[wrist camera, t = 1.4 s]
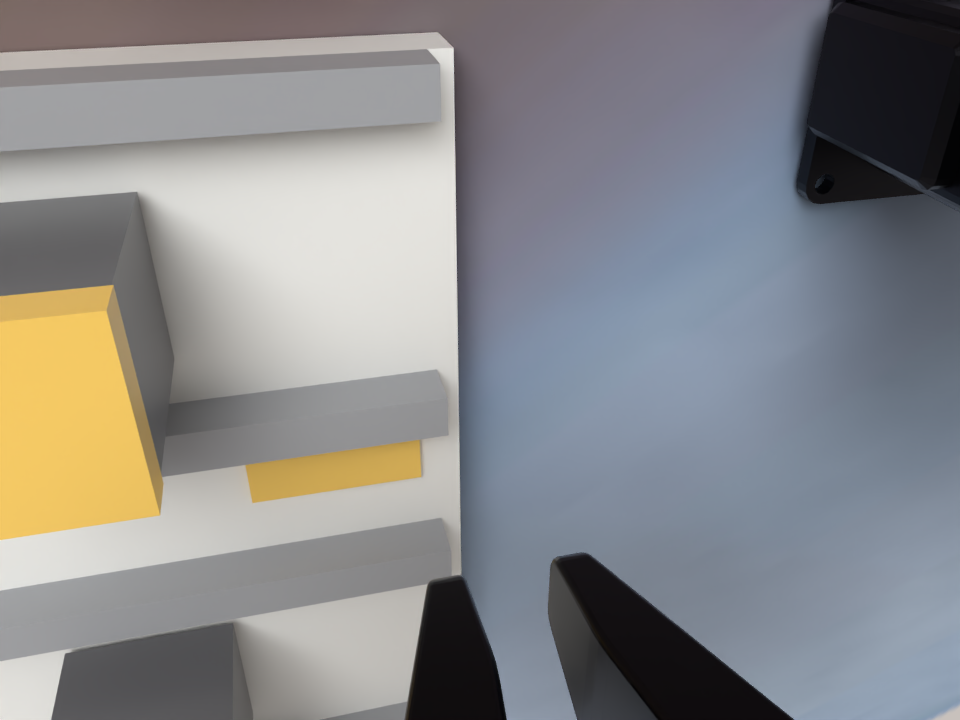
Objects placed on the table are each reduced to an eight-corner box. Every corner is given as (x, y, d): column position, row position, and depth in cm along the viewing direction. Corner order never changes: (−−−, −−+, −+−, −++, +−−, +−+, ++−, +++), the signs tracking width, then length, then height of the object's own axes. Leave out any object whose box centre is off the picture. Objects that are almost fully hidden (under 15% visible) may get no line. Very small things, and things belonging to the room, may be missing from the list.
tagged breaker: (140, 188, 15) (106, 310, 12) (177, 360, 17) (160, 515, 13) (-110, 208, 15) (-238, 347, 11) (-41, 386, 17) (-128, 560, 13)
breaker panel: (437, 32, 17) (467, 62, 15) (453, 681, 27) (471, 755, 25) (-687, 84, 13) (-871, 135, 11) (-172, 809, 24) (-214, 910, 22)
